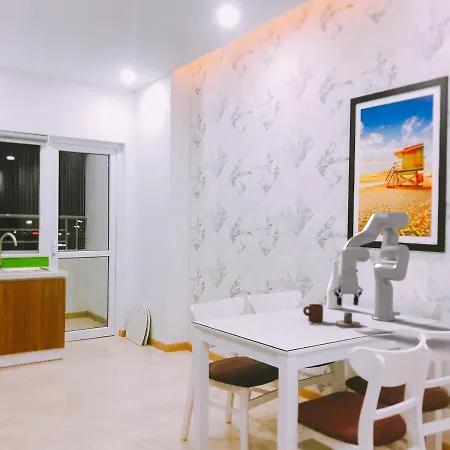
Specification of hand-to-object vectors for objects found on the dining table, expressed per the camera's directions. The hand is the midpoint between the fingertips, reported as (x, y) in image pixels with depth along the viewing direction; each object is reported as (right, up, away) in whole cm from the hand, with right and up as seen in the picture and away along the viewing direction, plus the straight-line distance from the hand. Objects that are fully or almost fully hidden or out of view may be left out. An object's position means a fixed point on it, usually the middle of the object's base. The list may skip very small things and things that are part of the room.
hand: (347, 305), depth 255 cm
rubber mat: (0, -11, +1) cm, 11 cm away
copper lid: (0, -10, +1) cm, 10 cm away
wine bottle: (+6, -11, +56) cm, 57 cm away
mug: (-17, -11, +8) cm, 21 cm away
